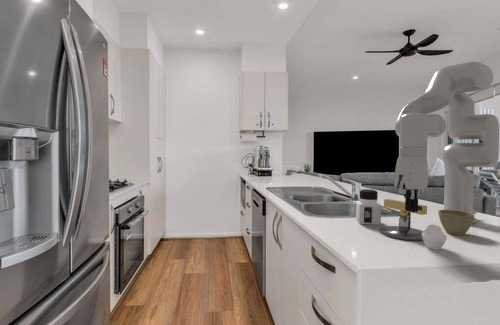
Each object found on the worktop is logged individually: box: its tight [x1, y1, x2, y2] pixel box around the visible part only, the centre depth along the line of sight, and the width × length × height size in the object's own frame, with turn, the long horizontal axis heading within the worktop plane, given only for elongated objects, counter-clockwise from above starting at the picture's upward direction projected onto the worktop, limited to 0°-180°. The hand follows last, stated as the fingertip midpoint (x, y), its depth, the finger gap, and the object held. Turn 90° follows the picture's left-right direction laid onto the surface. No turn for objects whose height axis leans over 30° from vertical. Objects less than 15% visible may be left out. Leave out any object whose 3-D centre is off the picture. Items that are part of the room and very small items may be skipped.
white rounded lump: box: [422, 224, 447, 251], centre depth 80 cm, size 6×6×7 cm
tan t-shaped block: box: [383, 198, 428, 218], centre depth 93 cm, size 2×14×5 cm, turn 24°
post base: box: [380, 212, 424, 242], centre depth 93 cm, size 14×14×10 cm
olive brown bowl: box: [437, 209, 475, 236], centre depth 95 cm, size 10×10×7 cm
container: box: [355, 188, 382, 226], centre depth 110 cm, size 8×8×13 cm
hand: (411, 211), depth 87 cm, fingers closed
